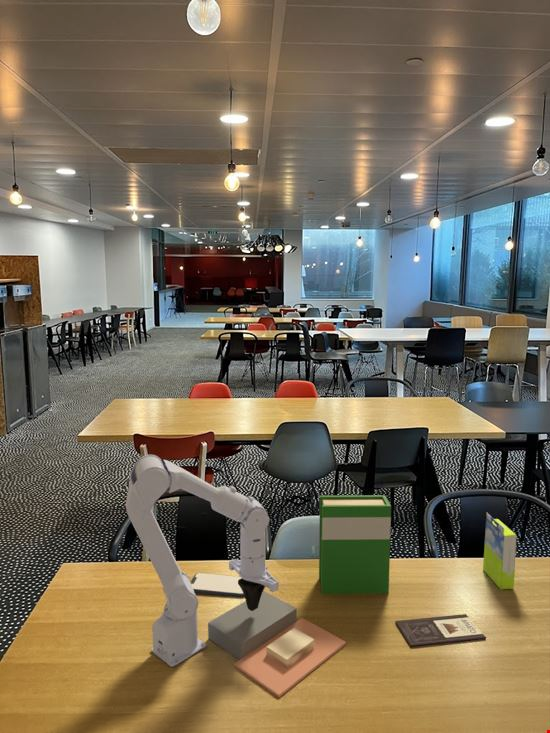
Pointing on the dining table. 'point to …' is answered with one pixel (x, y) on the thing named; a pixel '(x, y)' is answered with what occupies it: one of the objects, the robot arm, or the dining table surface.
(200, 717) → the dining table surface
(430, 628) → the chocolate bar
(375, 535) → the hardback book
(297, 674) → the mat
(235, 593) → the phone case
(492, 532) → the box
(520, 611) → the dining table surface
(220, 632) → the block
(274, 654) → the tile
